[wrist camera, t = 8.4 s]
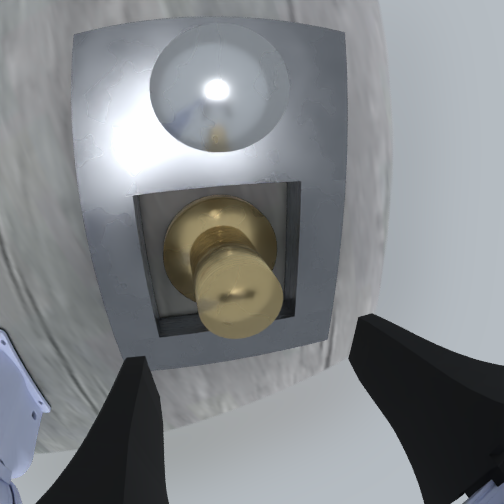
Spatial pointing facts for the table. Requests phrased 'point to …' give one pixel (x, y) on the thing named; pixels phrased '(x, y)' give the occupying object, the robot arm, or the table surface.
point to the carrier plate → (210, 161)
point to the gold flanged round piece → (225, 264)
